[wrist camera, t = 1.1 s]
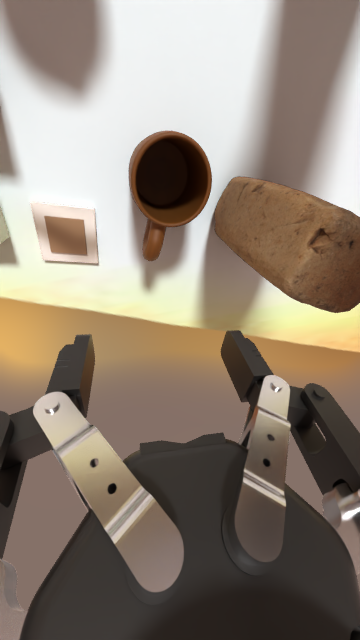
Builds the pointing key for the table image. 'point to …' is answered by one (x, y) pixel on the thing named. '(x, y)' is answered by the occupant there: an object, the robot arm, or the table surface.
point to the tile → (66, 232)
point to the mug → (168, 184)
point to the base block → (3, 228)
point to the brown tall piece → (293, 241)
